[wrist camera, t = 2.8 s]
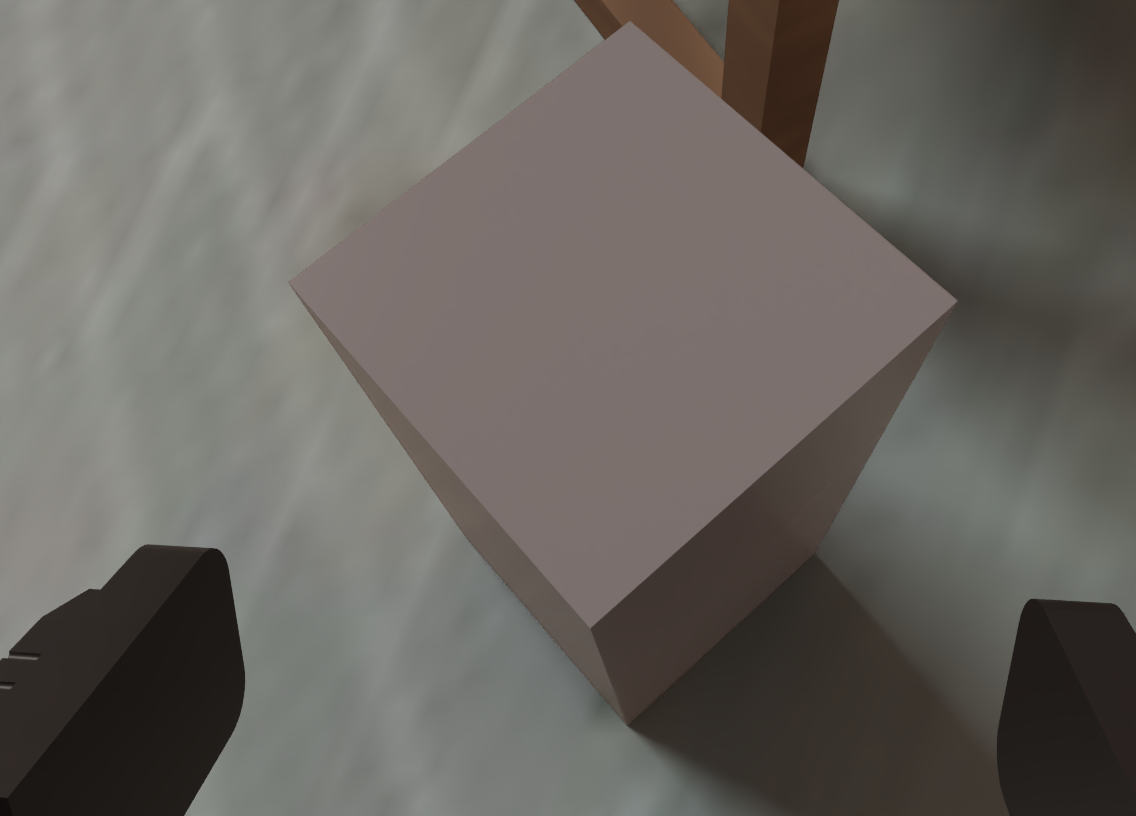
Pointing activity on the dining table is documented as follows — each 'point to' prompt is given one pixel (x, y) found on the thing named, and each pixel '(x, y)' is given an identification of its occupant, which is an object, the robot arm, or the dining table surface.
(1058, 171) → the dining table surface
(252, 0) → the dining table surface
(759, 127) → the frame
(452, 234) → the stone
